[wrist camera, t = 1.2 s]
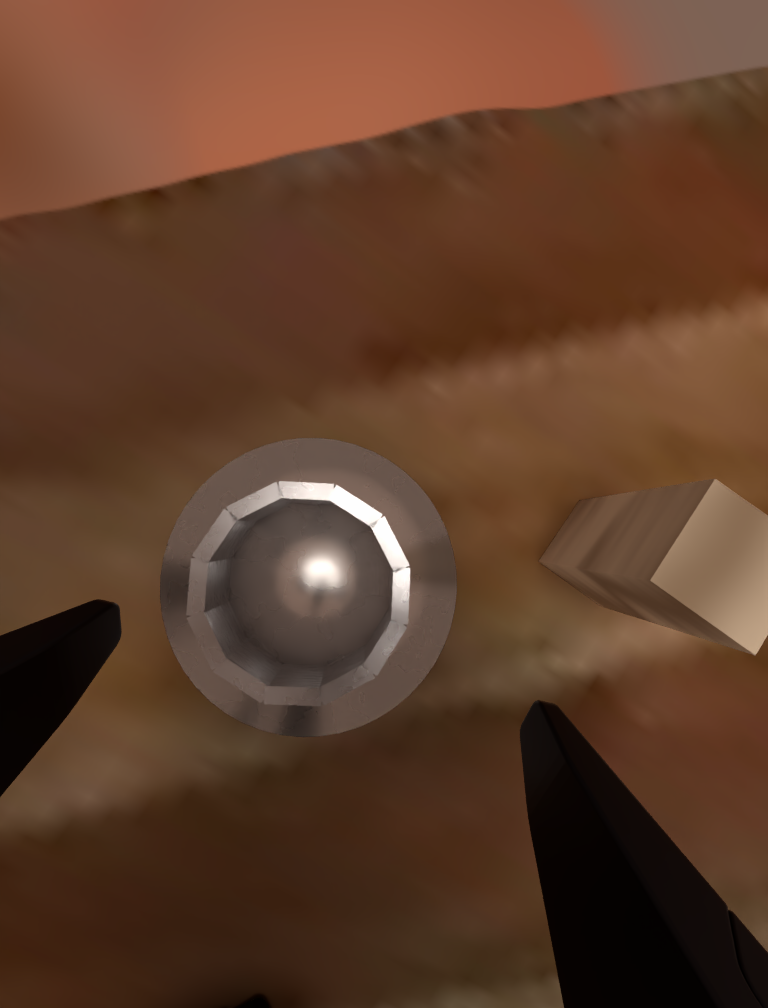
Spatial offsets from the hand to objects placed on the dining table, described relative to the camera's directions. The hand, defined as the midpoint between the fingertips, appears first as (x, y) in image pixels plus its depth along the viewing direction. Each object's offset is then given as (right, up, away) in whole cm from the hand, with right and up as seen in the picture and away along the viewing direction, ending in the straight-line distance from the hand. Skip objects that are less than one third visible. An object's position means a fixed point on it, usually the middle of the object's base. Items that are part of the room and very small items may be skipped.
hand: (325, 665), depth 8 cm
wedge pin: (+13, +1, +14) cm, 20 cm away
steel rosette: (-3, -1, +14) cm, 14 cm away
